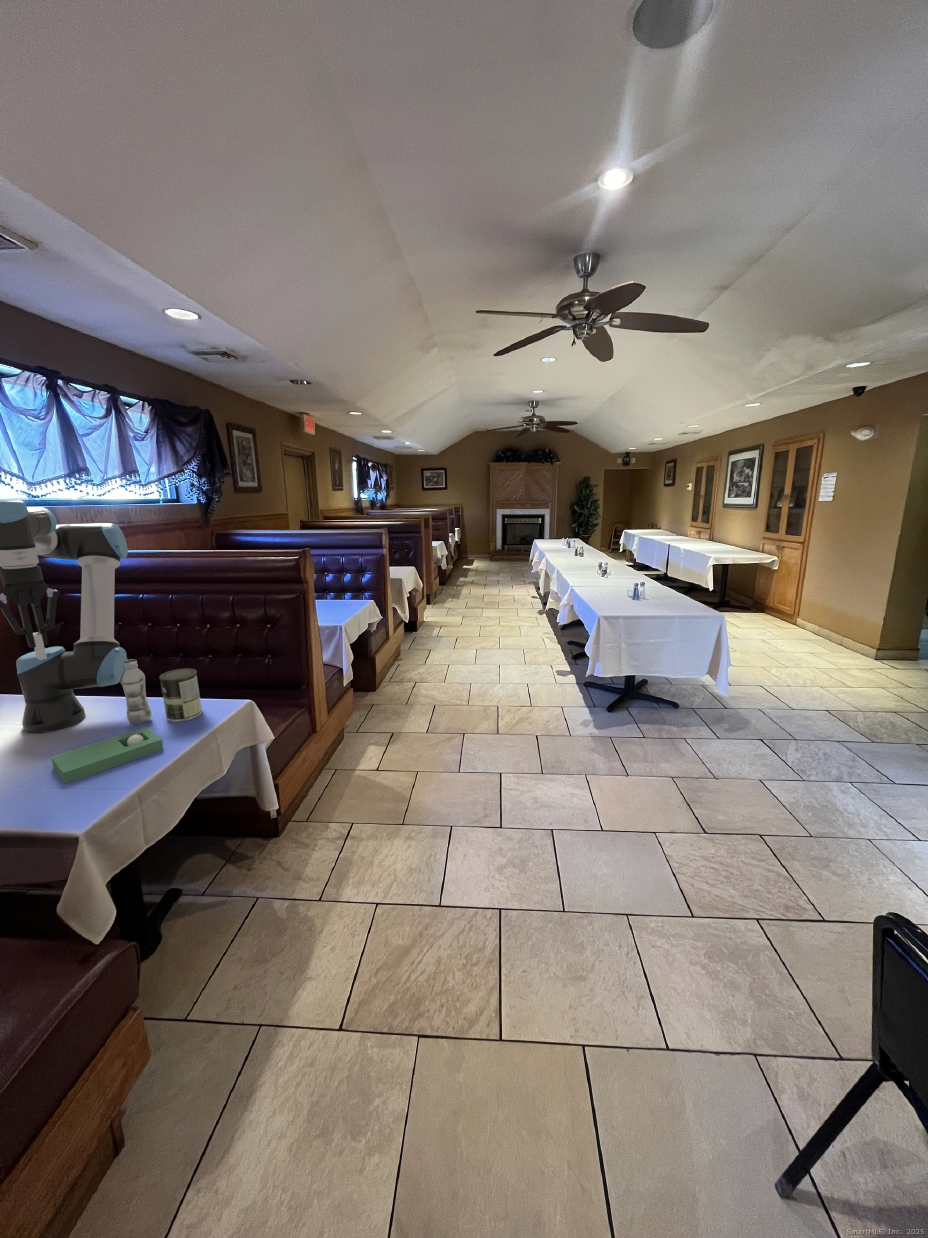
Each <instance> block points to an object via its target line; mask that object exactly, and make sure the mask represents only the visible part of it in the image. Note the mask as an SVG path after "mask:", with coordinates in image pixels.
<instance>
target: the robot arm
mask: <svg viewBox="0 0 928 1238" xmlns="http://www.w3.org/2000/svg"><path fill="white" fill-rule="evenodd" d="M57 521H58V520H57V518H56V516H55V514H54V513H53V512H52V511H50V510H49V509H47V508H45V507H41V506H27V505H26V503H25V502H24V501H22V500H20V499H19V500H17V499H16V500H9V499H8V500H0V567H1V568H0V578H1V582H2V589H1V593H0V610H1V612H2V614H3V615H4V617H5V618H6V620H7V622H8V624H9V625H10V626H11V628H12V630H13V632H14V633H15V634H17V635H19V636H20V635H21V636H25V637H26V642H27V646H28V647H29V648H30V649H33V650H34V651H31V652H27V653H26V654H24V655H22V656H20V657H19V658H17V659H16V663H15V664H16V670H17V671H16V673H17V676H18V680H19V684H20V687H21V691H22V696H23V699H24V703H25V704H24V705H25V707H24V712H23V716H22V721H21V722H22V724H21V725H22V728H23V731H24V732H26V733H29V734H30V733H32V734H40V733H41V734H42V733H49V732H54V731H57V730H61V729H65V728H68V727H71V726H72V725H75V724H77V723H79V722H81V721H83V720H84V718H85V717H86V713H85V708H84V706H83V705H82V703H81V702H80V701H79V700H78V698H77V697H76V695H75V693H74V690H77V689H78V690H79V689H87V688H95V687H96V688H98V687H99V688H102V687H107V686H112V685H116V684H117V685H118V684H119V683H121V681H120V678H121V675H122V673H123V672H124V670H125V669H123V662H124V661H127V660H128V657H127V651H126V650H125V649H124V647H121V645H120V642H118V641H117V640H116V639H115V584H116V583H115V579H116V578H115V577H116V575H115V573H116V571H115V570H116V569H117V568H119V567H120V565H121V559H122V560H123V559H126V558H127V557H128V555H129V548H128V544H127V543H128V542H127V541H126V537H125V535H124V532H123V531H122V529H121V528H120V527H119V525H117V524H115V523H109V522H108V523H107V522H106V523H104V522H100V523H99V522H98V523H63V524H61V523H60V524H57V523H58V522H57ZM39 556H41V557H46V558H52V559H55V560H56V559H57V560H58V559H59V560H67V561H76V563H77V564H78V565H79V566H80V567H81V597H80V598H81V599H80V630H79V631H80V635H79V636H80V637H79V640H77V641H75V642H74V643H73V650H72V651H66V649H65V648H64V647H63V646H58V645H57V646H50V647H47V648H46V647H45V646H47V645H49V642H50V641H49V639H48V634H47V632H48V631H50V630H53V629H55V624H56V614H57V613H56V612H57V611H56V610H57V602H58V601H57V600H58V598H59V597H60V595H61V592H60V591H59V590H57V589H53V588H49V587H48V585H47V584H46V582H45V581H44V576H43V572H42V568H41V566H39V565H38V564H39V563H40V560H39ZM45 594H46V596H47V606H46V617H45V618H46V621H45V619H44V616H43V610H42V607H41V606H42V605H41V601H42V599H43V598H44V596H45ZM7 598H8V599H9V600H10V601H12V602H13V603H15V604H16V605H17V608H18V611H19V615H20V620H21V623H22V628H21V625H20V623H19V622H18V621H17V619H16V618H15V616H14V615H13V613H12V611H11V610H10V608H9V607H8V605H7V603H8V601H7ZM28 604H29V605H31V608H32V612H33V615H34V620H35V624H36V629H37V631H38V632H34V631H33V627H32V621H31V618H30V615H29V610H28V608H29V607H28Z"/></svg>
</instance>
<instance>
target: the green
mask: <svg viewBox="0 0 928 1238" xmlns="http://www.w3.org/2000/svg"><path fill="white" fill-rule="evenodd" d="M132 735H141V736H142V737H143V738H144V741H142V742H139V743H136V744H133V745H130V746H128V745H127V740H128V739H129V737H131V736H132ZM162 750H164V745H163V740H162V738H161V737H160V736H158V735H157V734H155V732H153V731H152V730H150V729H149V728H148V727H147V726H145V727H142V728H141V727H140V728H139V729H135V730H132V731H129V732H126V733H123V734H119V735H117V736H113V737H110V738H107V739H103V740H101V741H97V742H94V743H91V744H88V745H85V746H82V747H81V746H80V747H78V748H75V749H72V750H69V751H66V752H63V753H58V754H57V755H53V756H51V757H50V758H51V762H52V765H53V768H54V770H55V771H56V773H57V774H58V775H59V777H60V778H61V780H63V782H64V784H66V785H67V784H68V783H73V782H75V781H78V780H82V779H84V778H87V777H89V776H91V775H92V776H93V775H95V774H98V773H101V772H104V771H106V770H109V769H111V768H114V767H117V766H120V765H123V764H126V763H128V762H131V761H134V760H137V759H139V758H143V757H145V756H148V755H151V754H153V753H157V752H159V751H162Z"/></svg>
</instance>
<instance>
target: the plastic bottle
mask: <svg viewBox="0 0 928 1238" xmlns="http://www.w3.org/2000/svg"><path fill="white" fill-rule="evenodd" d="M138 666H139V665H138V661H137V659H127V661H124V662H123V669H125V670H124V672H123V673H122V675H121V678H120V684H121V686H122V689H123V693H124V695H125V700H126V701H125V702H126V719H127V721H128V722H129V724H131V725H142V724H145V723H147V722H149V721H150V720H151V718H152V709H151V707H150V705H149V702H148V698H147V691H146V676H145V673H144V672H143V671H142V670H141V669H140V668H138Z"/></svg>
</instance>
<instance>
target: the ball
mask: <svg viewBox="0 0 928 1238" xmlns="http://www.w3.org/2000/svg"><path fill="white" fill-rule="evenodd" d="M142 741H144V738H143V737H142V736H141V735H132V736H131V737H129V739H128V740H127V745H128V746H130V745H133V744H136V743H139V742H142Z"/></svg>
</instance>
